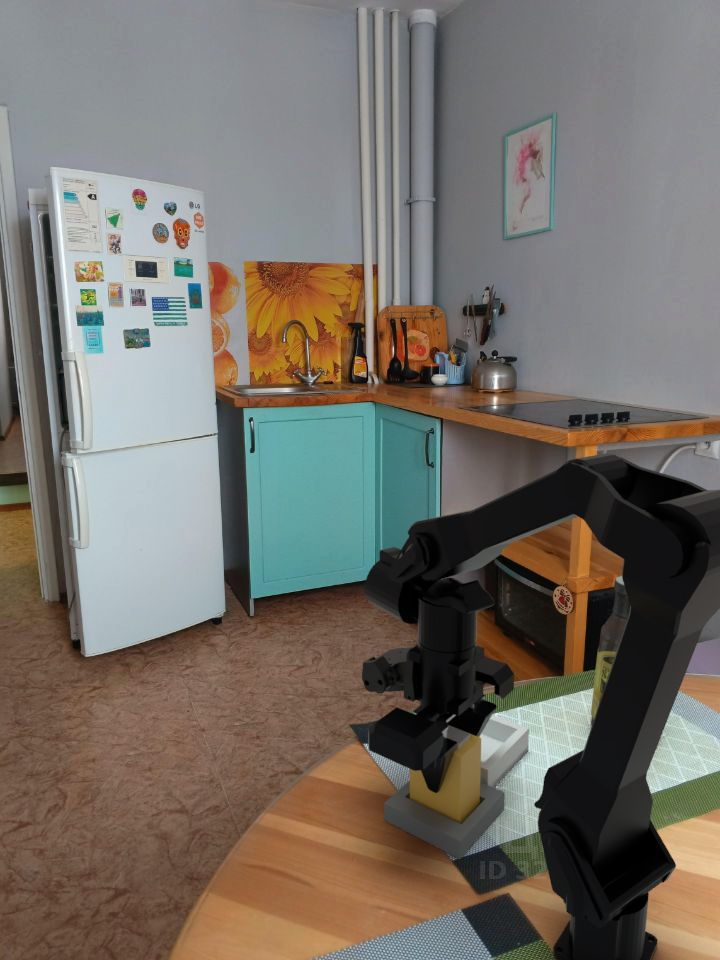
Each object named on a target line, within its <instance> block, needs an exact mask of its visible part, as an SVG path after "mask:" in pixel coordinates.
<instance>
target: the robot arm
mask: <svg viewBox="0 0 720 960" xmlns="http://www.w3.org/2000/svg"><path fill="white" fill-rule="evenodd" d="M576 518H581V520H583V521H584V522H585V523H586V525H587V527H588V528H589V529H590V531H591V532H592V534H593V535H594V536H595V538H596V540H597V541H598V542H599V544H600V545H601V546H602V547H603V548H605V549H607V550H608V551H610V552H612V553H613V554H615V555H617V556H618V557H620V558H621V559H623V561H622V569H621V576H622V579H623V582H624V586H625V589H626V593H627V596H628V600H629V603H630V612H629V616H628V619H627V622H626V625H625V628H624V631H623V634H622V637H621V640H620V643H619V646H618V649H617V652H616V655H615V658H614V661H613V664H612V667H611V670H610V673H609V676H608V679H607V682H606V685H605V688H604V691H603V694H602V697H601V700H600V703H599V706H598V709H597V712H596V715H595V718H594V721H593V724H592V726H590V730H589V733H588V736H587V740H586V742H585V745H584V749H582V750H580V751H579V752H577V753H575V754H572V755H571V756H568V757H567V758H565V759H563V760H562V761H560V762H557V763H556V764H553V765H552V766H550V767H548V768H547V770H546V772H545V775H544V777H543V784H542V791H541V795H540V797H539V798H538V799H537V800H536V801H535V802H534V803H533V805H534V808H537V809H539V812H538V817H537V827H538V828H537V830H538V833H539V835H540V841H541V845H542V849H543V855H544V860H545V862H546V863H545V864H546V867H547V872H548V877H549V881H550V887H551V889H552V892H554V894H556V895H557V896H558V897H559V898H560V899H562V900H563V903H564V904H565V910H566V913H568V914H569V915H570V917H569V921H568V923H567V924H566V925H565V927H564V929H563V931H562V932H561V934H560V935H559V937H558V938H557V940H556V942H555V943H554V945H553V949H552V954H553V956H554V957H555V958H556V959H558V960H652V958H653V956H654V954H655V952H656V949H657V948H658V938H657V937H656V936H655V935H654V934H651V933H650V932H648V931H646V929H647V919H648V906H649V893H650V892H651V891H652V890H653V889H655V888H656V887H658V886H659V885H660V884H662V883H665V882H666V881H668V880H669V878H670V877H671V875H672V874H673V873H674V871H675V869H676V866H677V865H676V862H675V860H674V859H673V856H672V854H671V853H670V850H669V849H668V848H667V846H666V845H665V842H664V841H663V839H662V837H661V835H660V834H659V832H658V830H657V829H656V827H655V825H654V823H653V822H652V820H651V817H652V816H651V815H652V809H653V804H654V801H653V799H654V798H653V794H652V793H651V789H650V786H649V783H648V780H647V776H648V771H649V769H650V766H651V763H652V761H653V758H654V756H655V753H656V751H657V748H658V746H659V743H660V740H661V738H662V735H663V732H664V730H665V727H666V725H667V722H668V720H669V717H670V715H671V712H672V709H673V707H674V704H675V701H676V699H677V696H678V693H679V691H680V688H681V686H682V683H683V681H684V678H685V676H686V673H687V670H688V668H689V665H690V662H691V659H692V657H693V656H694V652H695V650H696V647H697V645H698V642H699V640H700V637H701V635H702V632H703V629H704V627H705V626H706V624H708V622H709V621H711V619H712V618H713V617H714V616H715V614H716V613H717V612H719V610H720V489H711V490H708V489H706V488H704V487H702V486H699V485H698V484H696V483H693V482H691V481H689V480H687V479H684V478H683V479H682V478H680V477H675V476H672V475H670V474H666V473H662V472H659V471H655V470H652V469H648V468H646V467H642V466H639V465H638V464H636V463H633V462H631V461H629V460H628V459H626V458H624V457H622V456H619V455H616V454H614V453H608V452H605V453H600V454H595V455H590V456H584V457H579V458H572V459H570V460H567V461H565V463H563V465H561V466H560V467H559V468H558V469H556V470H554V471H551V472H550V473H547V474H545V475H543V476H541V477H539V478H537V479H535V480H533V481H530V482H528V483H527V484H525V485H522V486H520V487H518V488H516V489H514V490H512V491H509V492H508V493H506V494H503V495H502V496H499V497H497V498H495V499H493V500H491V501H489V502H486V503H485V504H482V505H480V506H478V507H476V508H474V509H469V510H465V511H460V512H454V513H451V514H450V513H449V514H446V515H441V516H437V517H436V516H435V517H432V518H427V519H422V520H418V521H415V522H414V523H413V524H411V525H410V527H409V528H408V530H407V534H408V538H407V539H406V541H405V542H404V544H403V545H402V547H401V548H399V547H396V546H393V547H387V548H384V549H380V550H379V559H378V560H377V561H376V563H374V565H372V567H371V568H370V570H369V572H368V574H367V575H366V579H365V581H364V583H363V590H364V595H365V597H366V600H367V601H368V602H369V604H371V605H373V606H374V607H376V608H378V609H380V610H381V611H383V612H386V613H387V614H389V615H390V616H393V617H394V618H396V619H397V620H400V621H401V622H402V623H405V624H408V625H415V624H417V645H414V646H411V647H410V646H409V647H399V648H398V647H397V648H396V647H395V648H393V649H389V650H387V651H385V652H383V653H382V654H381V655H379V656H377V657H375V656H371V657H369V658H368V659H366V660H365V661H363V662H362V667H361V668H362V669H361V681H362V683H363V686H364V689H365V690H366V691H367V692H369V693H376V694H377V695H378V694H381V695H382V694H384V693H386V692H387V693H388V692H389V693H391V692H403V699H405V700H407V701H410V702H415V701H418V702H419V706H418V707H416V708H415V709H414V710H413V711H412V712H410V711H408V710H404V709H402V708H399V707H395V708H393V709H392V710H390V711H389V712H388V713H387V714H385V715H383V716H382V717H381V718H380V719H378V720H377V721H376V722H374V723H373V724H372V725H370V726H369V727H367V746H368V750H369V752H372V753H374V754H376V755H379V756H380V757H383V758H386V759H388V760H389V761H391V762H394V763H396V764H398V765H401V766H403V767H406V768H408V769H409V770H410V769H412V770H414V771H418V770H421V772H422V775H423V777H424V780H425V782H426V785H427V787H428V789H429V790H430V791H432V792H435V793H438V792H439V790H440V788H441V786H442V783H443V781H444V778H445V776H446V773H447V770H448V767H449V765H450V762H451V759H452V757H453V754H454V752H455V749H456V746H457V742H456V741H453V740H451V739H449V738H447V730H448V728H449V725H450V726H452V727H455V728H457V729H460V730H462V731H465V732H467V733H470V734H472V735H475V736H477V737H480V735H481V733H482V731H483V730H484V728H485V726H486V724H487V723H488V721H489V719H490V718H491V716H492V715H494V713H495V712H496V711H497V705H496V704H495V702H492V701H489V700H487V699H486V695H485V694H484V685H486V684H488V685H491V686H494V693H493V694H494V696H496V697H497V698H498V699H501V700H503V699H505V698H506V697H507V696H508V695H510V694H511V692H513V690H514V689H515V673H514V671H513V670H512V668H511V667H510V666H509V665H508V663H506V662H502V661H499V660H497V659H493V658H490V657H486V656H485V647H482V646H479V645H477V630H478V629H477V626H478V611H481V610H485V609H488V608H490V607H493V606H494V605H495V600H494V598H493V597H492V596H491V594H490V593H489V592H488V591H487V590H486V589H484V588H483V587H482V584H481V582H480V581H479V580H478V579H474V580H472V581H469V582H464V581H462V580H460V579H459V578H458V579H457V578H454V576H456V575H461V574H463V573H468V572H472V571H475V570H479V569H482V568H483V567H485V566H487V564H489V563H491V562H492V561H494V560H495V559H496V558H498V557H499V556H501V554H502V552H503V551H504V549H505V548H506V547H508V546H509V545H510V544H512V543H514V542H517V541H519V540H521V539H524V538H526V537H529V536H531V535H532V536H533V535H534V534H537V533H540V532H543V531H545V530H548V529H550V528H552V527H555V526H557V525H560V524H563V523H565V522H569V521H571V520H573V519H576Z"/></svg>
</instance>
